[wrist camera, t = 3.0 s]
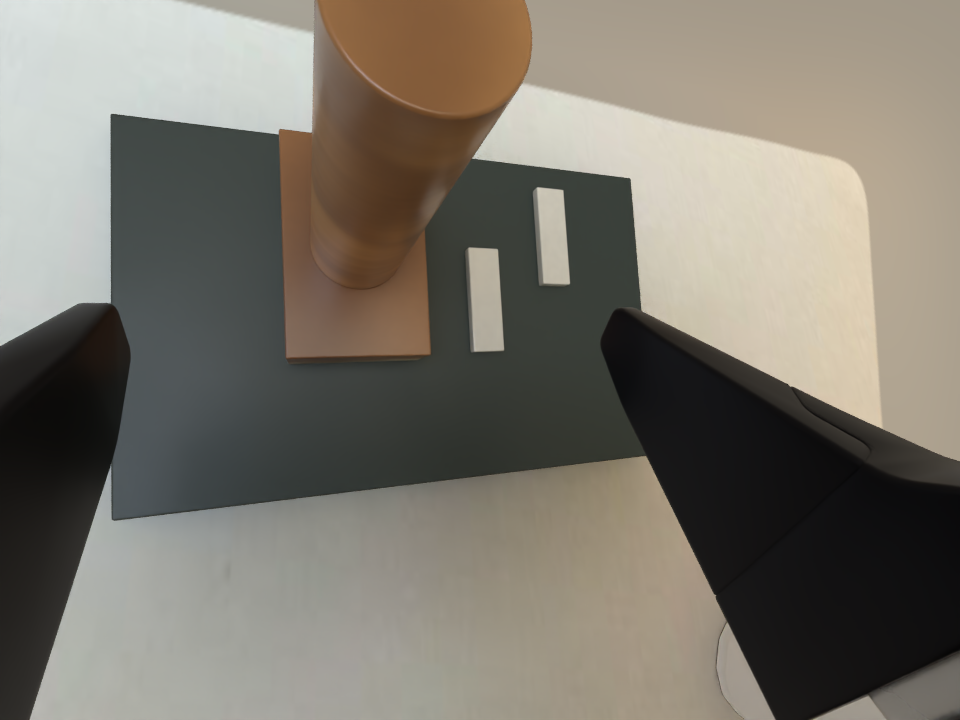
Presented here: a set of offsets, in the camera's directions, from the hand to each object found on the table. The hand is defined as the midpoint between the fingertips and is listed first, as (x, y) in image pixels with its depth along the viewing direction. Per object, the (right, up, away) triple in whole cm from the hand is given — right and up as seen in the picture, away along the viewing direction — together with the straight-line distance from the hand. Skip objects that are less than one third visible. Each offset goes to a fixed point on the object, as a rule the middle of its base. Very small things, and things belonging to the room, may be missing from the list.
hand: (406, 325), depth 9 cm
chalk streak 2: (+5, +5, +13) cm, 15 cm away
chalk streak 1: (+1, +2, +12) cm, 12 cm away
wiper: (-4, +3, +10) cm, 11 cm away
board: (-1, +1, +12) cm, 12 cm away
